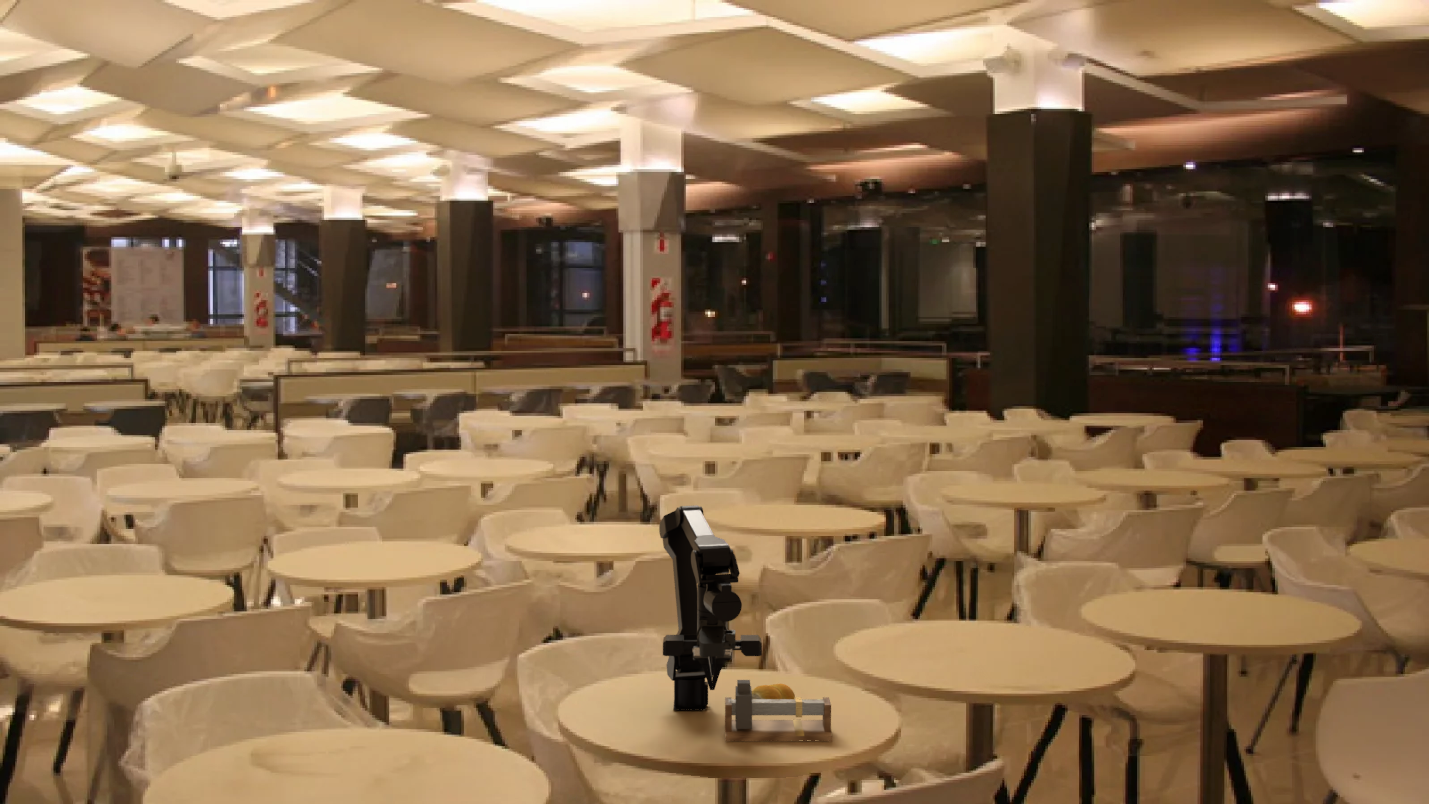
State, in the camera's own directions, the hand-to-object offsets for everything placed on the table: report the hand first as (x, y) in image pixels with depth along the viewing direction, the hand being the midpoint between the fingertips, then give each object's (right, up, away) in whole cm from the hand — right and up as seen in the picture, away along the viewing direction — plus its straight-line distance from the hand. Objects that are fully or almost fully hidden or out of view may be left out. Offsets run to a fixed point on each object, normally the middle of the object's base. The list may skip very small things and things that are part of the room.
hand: (712, 689), depth 277 cm
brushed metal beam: (+13, -5, 0) cm, 13 cm away
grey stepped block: (+6, -7, 0) cm, 9 cm away
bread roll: (+12, -7, +21) cm, 25 cm away
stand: (+13, -8, +1) cm, 15 cm away
